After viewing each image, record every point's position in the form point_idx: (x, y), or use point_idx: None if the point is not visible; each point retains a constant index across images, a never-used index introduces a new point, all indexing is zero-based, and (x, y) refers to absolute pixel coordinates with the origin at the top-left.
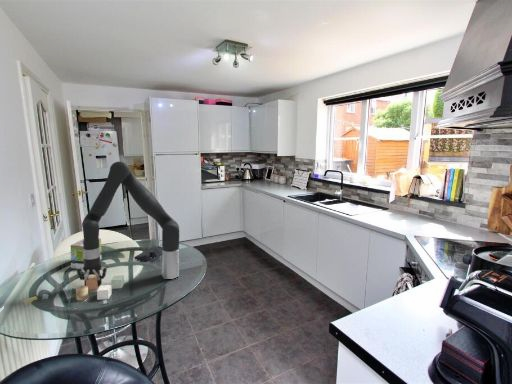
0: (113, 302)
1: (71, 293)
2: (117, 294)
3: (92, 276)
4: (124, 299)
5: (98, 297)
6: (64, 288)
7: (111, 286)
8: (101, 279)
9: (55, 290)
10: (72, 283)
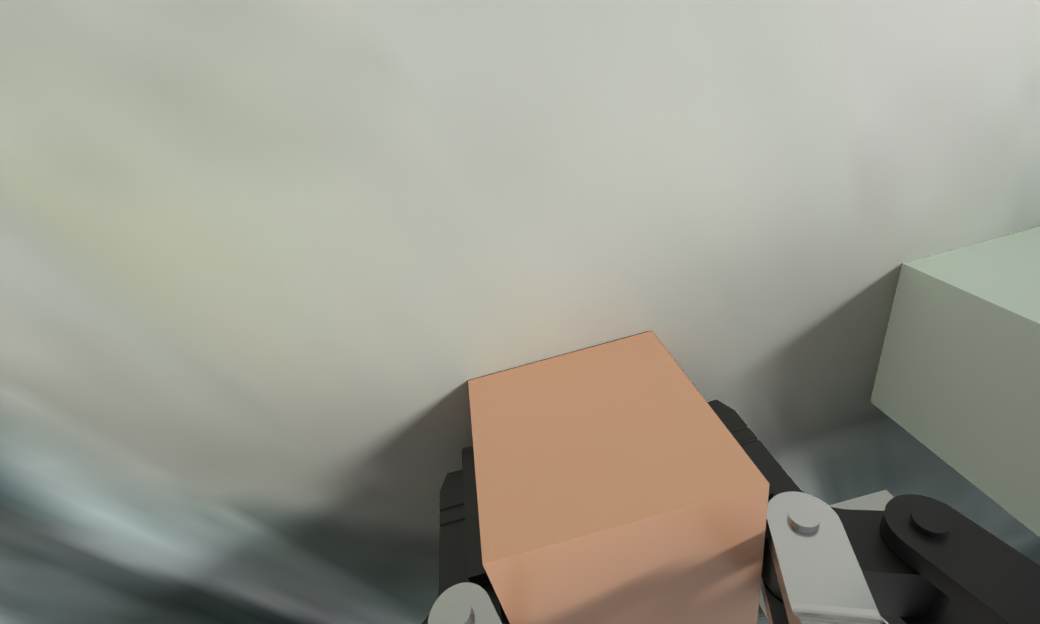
0: None
1: (367, 595)
2: (954, 487)
3: (574, 551)
4: (1019, 534)
5: None
6: (108, 545)
7: (906, 430)
8: (789, 479)
9: (31, 607)
10: (38, 399)
